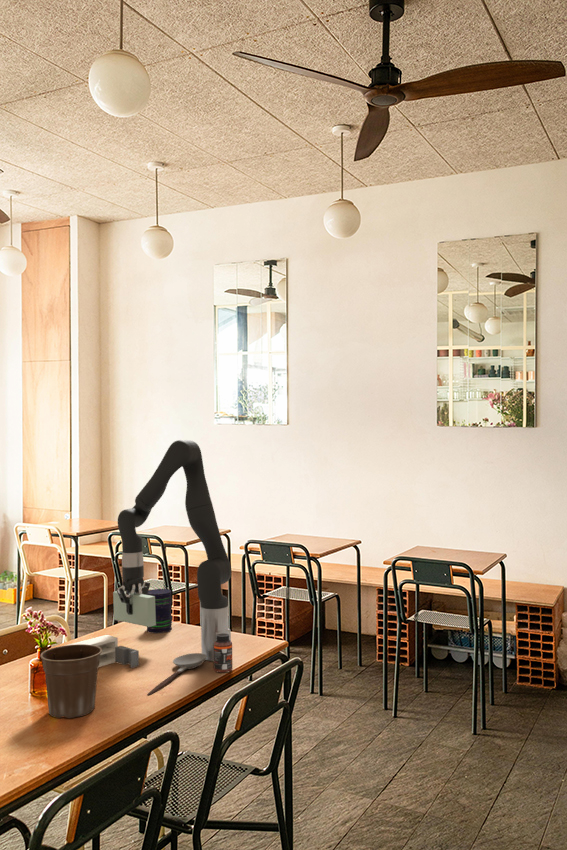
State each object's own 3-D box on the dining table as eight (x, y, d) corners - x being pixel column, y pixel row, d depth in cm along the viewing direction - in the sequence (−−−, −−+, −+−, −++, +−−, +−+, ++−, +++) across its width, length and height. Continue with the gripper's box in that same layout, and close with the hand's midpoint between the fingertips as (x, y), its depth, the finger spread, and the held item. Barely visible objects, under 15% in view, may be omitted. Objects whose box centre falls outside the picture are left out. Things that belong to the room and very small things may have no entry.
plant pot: (80, 696, 212) (79, 640, 212) (114, 708, 202) (114, 649, 202) (29, 713, 199) (28, 653, 200) (63, 727, 189) (62, 664, 189)
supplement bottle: (229, 673, 230) (229, 637, 230) (211, 672, 231) (210, 636, 231) (234, 667, 235) (234, 632, 236) (217, 667, 237) (216, 631, 237)
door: (123, 617, 268) (122, 589, 268) (158, 624, 255) (157, 595, 255) (113, 619, 265) (113, 591, 265) (149, 627, 252) (148, 597, 252)
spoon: (212, 662, 241) (211, 653, 241) (165, 701, 210) (164, 690, 210) (183, 662, 244) (182, 653, 244) (132, 700, 213) (131, 690, 213)
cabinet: (138, 665, 239) (138, 641, 240) (79, 684, 222) (78, 657, 222) (110, 657, 250) (110, 633, 250) (51, 674, 232) (50, 649, 233)
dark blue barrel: (170, 632, 280) (169, 593, 280) (144, 633, 280) (143, 594, 280) (173, 626, 290) (173, 588, 290) (148, 626, 290) (148, 589, 290)
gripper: (123, 568, 252) (124, 618, 252) (155, 562, 263) (156, 610, 263) (110, 566, 257) (111, 616, 257) (141, 561, 268) (143, 608, 268)
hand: (134, 613), depth 260 cm, fingers closed on door, 3 cm apart
